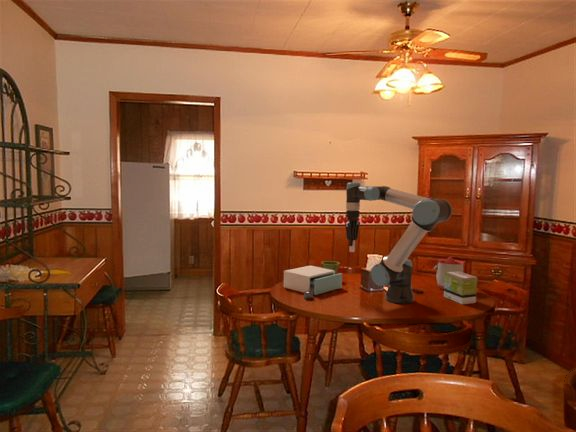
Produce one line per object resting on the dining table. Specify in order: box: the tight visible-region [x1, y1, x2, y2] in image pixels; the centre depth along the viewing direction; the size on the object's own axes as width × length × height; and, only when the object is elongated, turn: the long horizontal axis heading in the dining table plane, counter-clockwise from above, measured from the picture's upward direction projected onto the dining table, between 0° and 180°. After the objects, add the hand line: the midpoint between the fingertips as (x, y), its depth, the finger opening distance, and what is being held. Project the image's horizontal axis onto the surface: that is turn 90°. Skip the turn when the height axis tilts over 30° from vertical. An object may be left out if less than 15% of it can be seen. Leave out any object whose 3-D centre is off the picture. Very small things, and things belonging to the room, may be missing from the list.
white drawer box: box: [283, 265, 335, 294], centre depth 270 cm, size 20×24×10 cm
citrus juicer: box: [433, 256, 465, 291], centre depth 273 cm, size 16×17×20 cm
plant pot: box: [320, 260, 341, 274], centre depth 290 cm, size 12×12×11 cm
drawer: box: [310, 272, 343, 296], centre depth 268 cm, size 24×24×9 cm
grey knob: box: [303, 291, 314, 301], centre depth 246 cm, size 5×5×4 cm
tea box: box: [443, 271, 478, 305], centre depth 248 cm, size 15×10×15 cm, turn 21°
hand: (352, 251), depth 253 cm, fingers closed
